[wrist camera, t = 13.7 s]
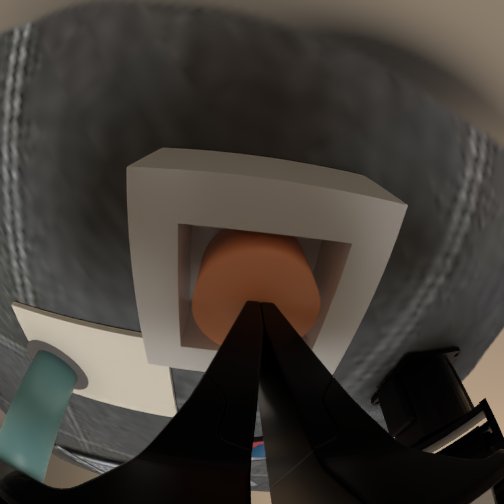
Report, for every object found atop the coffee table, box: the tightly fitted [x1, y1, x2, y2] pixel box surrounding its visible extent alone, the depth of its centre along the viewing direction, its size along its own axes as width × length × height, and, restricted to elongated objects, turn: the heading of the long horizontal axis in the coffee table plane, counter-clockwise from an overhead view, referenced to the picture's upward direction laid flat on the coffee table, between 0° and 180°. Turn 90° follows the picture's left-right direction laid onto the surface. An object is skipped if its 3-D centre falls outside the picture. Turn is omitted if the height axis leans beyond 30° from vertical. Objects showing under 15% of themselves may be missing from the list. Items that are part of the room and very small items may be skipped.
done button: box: [192, 228, 320, 345], centre depth 9 cm, size 4×4×2 cm
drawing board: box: [12, 301, 178, 417], centre depth 16 cm, size 13×10×1 cm
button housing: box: [127, 148, 408, 375], centre depth 10 cm, size 8×8×4 cm
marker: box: [0, 350, 77, 483], centre depth 10 cm, size 4×4×13 cm
